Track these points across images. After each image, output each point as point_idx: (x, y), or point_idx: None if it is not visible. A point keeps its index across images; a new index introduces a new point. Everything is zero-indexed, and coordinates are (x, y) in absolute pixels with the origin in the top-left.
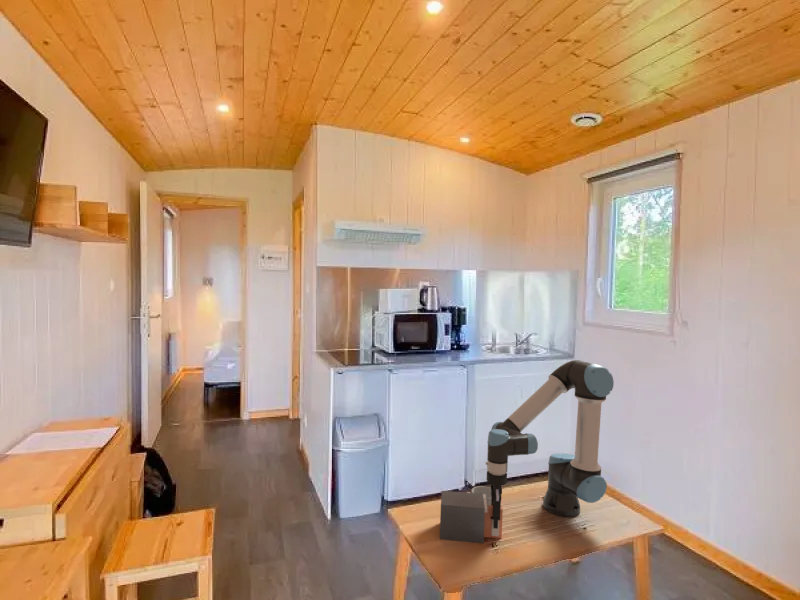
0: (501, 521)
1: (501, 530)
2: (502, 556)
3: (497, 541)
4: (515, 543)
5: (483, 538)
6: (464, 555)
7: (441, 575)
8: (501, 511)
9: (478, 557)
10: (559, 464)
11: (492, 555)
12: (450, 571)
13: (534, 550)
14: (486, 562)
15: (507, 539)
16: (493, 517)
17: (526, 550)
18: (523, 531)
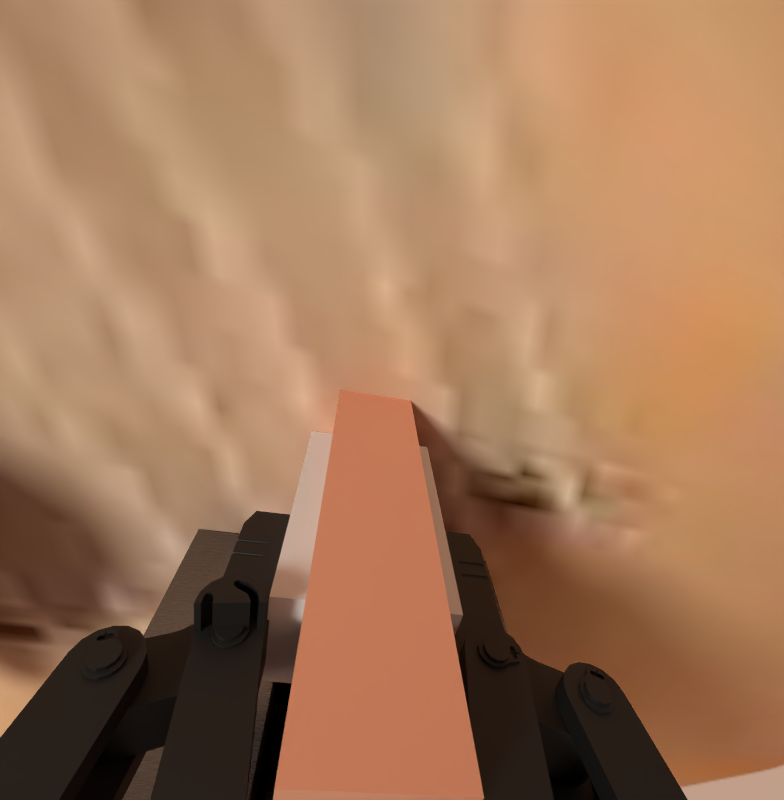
0: (429, 537)
1: (419, 451)
2: (704, 465)
3: (465, 451)
4: (525, 278)
5: (495, 597)
6: (610, 675)
7: (747, 764)
8: (460, 738)
9: (657, 614)
10: None
11: (665, 531)
12: (733, 736)
13: (727, 61)
14: (732, 581)
15: (435, 346)
16: (594, 797)
17: (692, 186)
18: (223, 39)
